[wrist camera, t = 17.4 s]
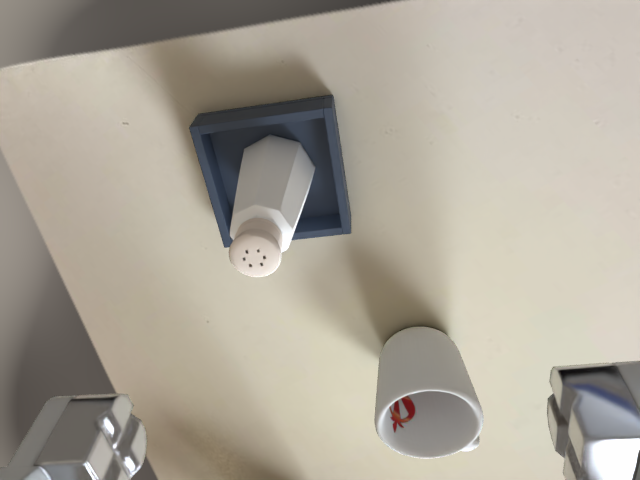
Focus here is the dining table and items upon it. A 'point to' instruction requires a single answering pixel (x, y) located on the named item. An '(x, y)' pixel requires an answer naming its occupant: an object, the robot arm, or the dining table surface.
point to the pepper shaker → (268, 203)
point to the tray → (286, 122)
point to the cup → (425, 396)
